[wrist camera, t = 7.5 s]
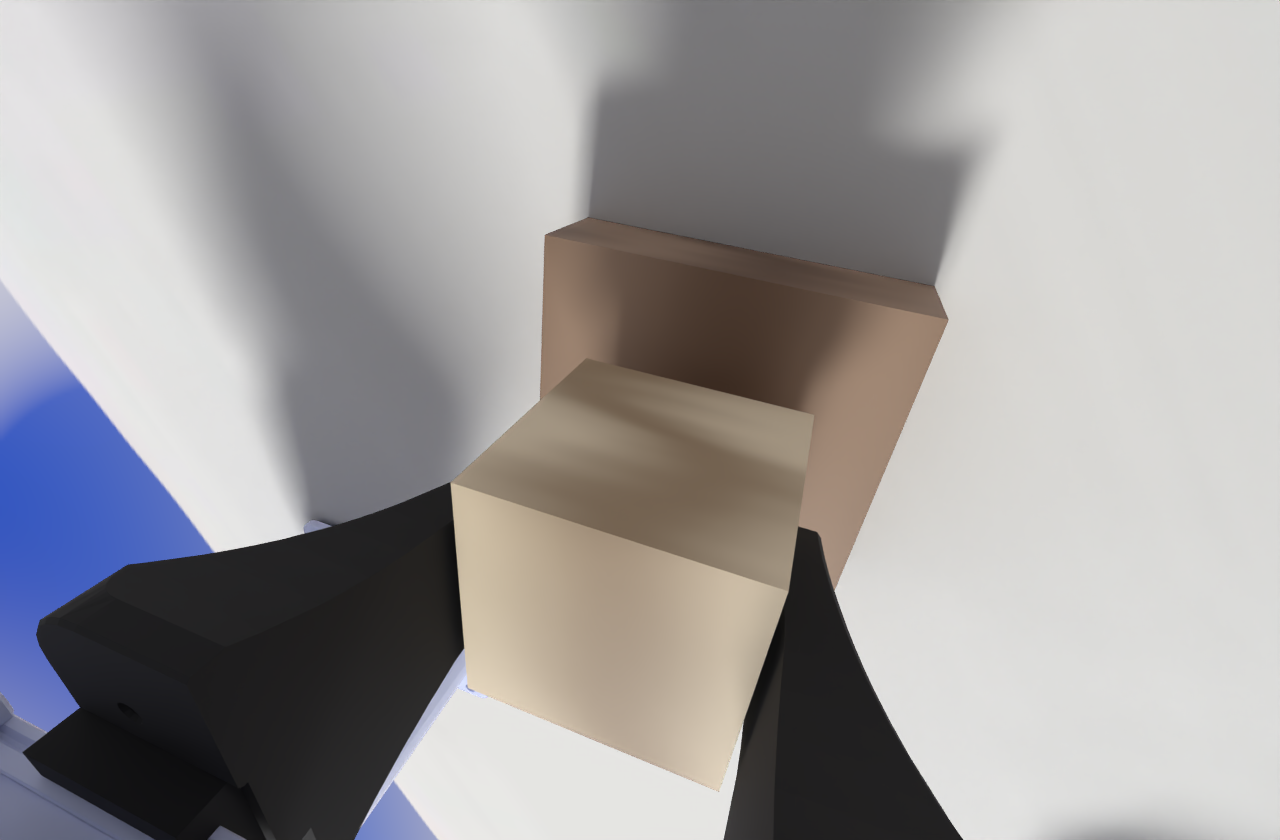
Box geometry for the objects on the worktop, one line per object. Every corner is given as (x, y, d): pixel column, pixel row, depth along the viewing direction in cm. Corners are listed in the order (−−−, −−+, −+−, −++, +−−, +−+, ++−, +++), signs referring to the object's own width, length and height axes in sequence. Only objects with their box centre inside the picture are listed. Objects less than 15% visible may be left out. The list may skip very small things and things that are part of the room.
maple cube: (575, 528, 15) (467, 687, 11) (586, 358, 12) (450, 482, 8) (760, 588, 14) (718, 791, 10) (814, 415, 11) (788, 591, 7)
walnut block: (575, 472, 20) (536, 523, 18) (594, 214, 16) (545, 234, 13) (827, 550, 18) (822, 619, 16) (932, 281, 14) (948, 319, 11)
